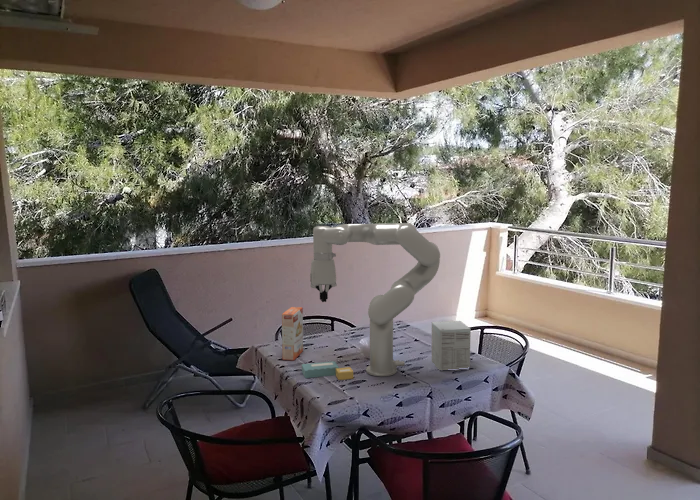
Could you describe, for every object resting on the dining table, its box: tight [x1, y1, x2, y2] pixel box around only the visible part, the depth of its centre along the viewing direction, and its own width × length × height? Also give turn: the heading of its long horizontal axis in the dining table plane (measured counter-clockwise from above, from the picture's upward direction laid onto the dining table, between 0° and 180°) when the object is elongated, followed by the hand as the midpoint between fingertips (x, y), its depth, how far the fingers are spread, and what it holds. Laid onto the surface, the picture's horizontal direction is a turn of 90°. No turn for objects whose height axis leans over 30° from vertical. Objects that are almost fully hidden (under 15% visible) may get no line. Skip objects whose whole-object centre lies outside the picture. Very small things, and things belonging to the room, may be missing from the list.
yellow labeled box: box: [335, 366, 354, 381], centre depth 215 cm, size 6×5×3 cm
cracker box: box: [281, 306, 304, 361], centre depth 241 cm, size 14×6×21 cm, turn 168°
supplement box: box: [431, 320, 472, 371], centre depth 226 cm, size 13×13×18 cm
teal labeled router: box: [301, 360, 340, 379], centre depth 220 cm, size 14×8×3 cm, turn 104°
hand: (323, 301), depth 220 cm, fingers closed
